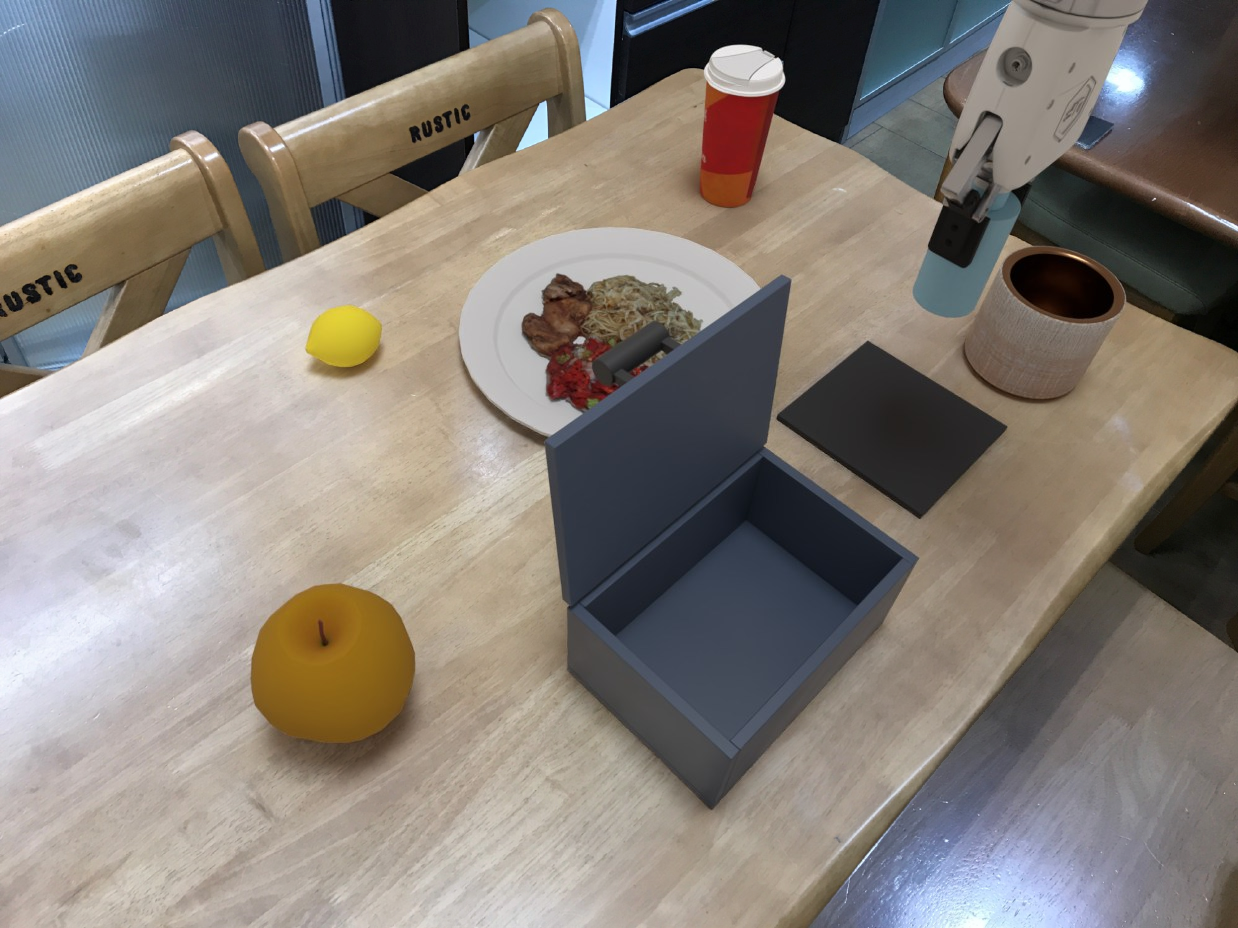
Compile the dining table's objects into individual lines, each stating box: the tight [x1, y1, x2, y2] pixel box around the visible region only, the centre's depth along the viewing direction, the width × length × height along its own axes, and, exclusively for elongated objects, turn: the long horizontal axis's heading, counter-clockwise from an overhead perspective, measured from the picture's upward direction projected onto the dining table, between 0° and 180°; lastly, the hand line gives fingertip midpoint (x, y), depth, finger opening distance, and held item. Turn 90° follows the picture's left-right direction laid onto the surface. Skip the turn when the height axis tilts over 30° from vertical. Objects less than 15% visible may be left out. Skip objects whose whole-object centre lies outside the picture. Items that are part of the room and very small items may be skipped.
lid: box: [544, 274, 793, 606], centre depth 56 cm, size 14×20×5 cm
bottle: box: [912, 161, 1022, 319], centre depth 63 cm, size 5×5×11 cm
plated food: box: [458, 226, 781, 438], centre depth 83 cm, size 30×30×3 cm
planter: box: [964, 245, 1127, 400], centre depth 81 cm, size 11×11×10 cm
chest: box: [566, 445, 920, 810], centre depth 61 cm, size 14×20×9 cm
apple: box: [250, 582, 416, 744], centre depth 56 cm, size 10×10×12 cm
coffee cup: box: [699, 44, 786, 208], centre depth 94 cm, size 8×8×15 cm
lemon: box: [304, 304, 383, 368], centre depth 79 cm, size 7×5×5 cm
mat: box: [775, 340, 1008, 519], centre depth 78 cm, size 15×14×1 cm
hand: (969, 238), depth 63 cm, fingers closed on bottle, 4 cm apart
